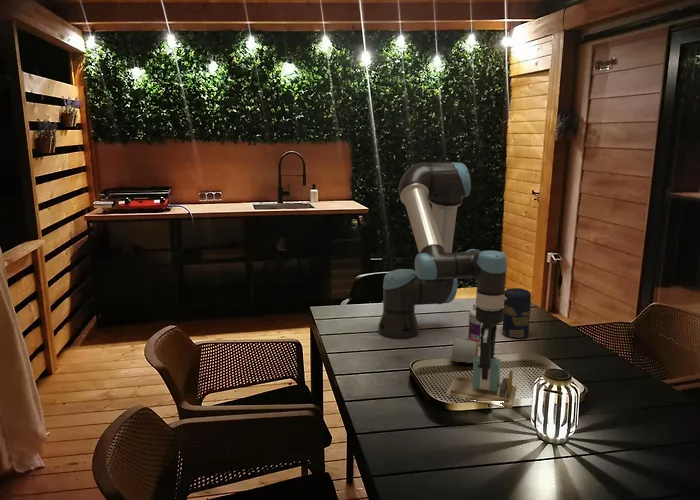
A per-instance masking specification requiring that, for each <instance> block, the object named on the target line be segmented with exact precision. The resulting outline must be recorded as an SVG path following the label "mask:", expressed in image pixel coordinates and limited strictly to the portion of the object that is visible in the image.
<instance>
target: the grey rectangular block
mask: <svg viewBox="0 0 700 500" xmlns="http://www.w3.org/2000/svg"><path fill="white" fill-rule="evenodd" d="M479 346H480V345H479V344H478V343H477V342H474V341H469V339H468V340H466V339H461V338H456V337H455V338H453V345H452V354H451V361H452V360H453V361H460V362H467V363H466V364H468V363H473V361H474V359H475V356H478V355H479Z"/></svg>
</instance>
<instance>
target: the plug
mask: <svg viewBox="0 0 700 500" xmlns="http://www.w3.org/2000/svg"><path fill="white" fill-rule="evenodd" d="M478 365H480V355H479V356H475V359H474V361H473V364H472V378H473V379H472V387H473V388H480V368H479V367H478ZM490 367H491V373H490V389H489V390H491V391H498V388H499V383H500V379H501V378H500V377H501V376H500V375H501V359H500V358H496V359H494V358H491V360H490Z"/></svg>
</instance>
